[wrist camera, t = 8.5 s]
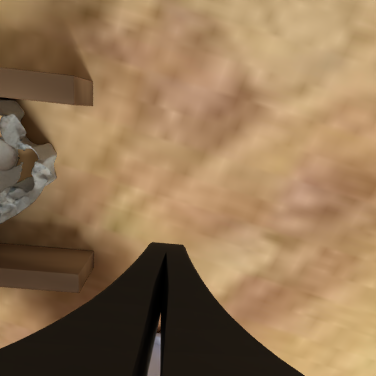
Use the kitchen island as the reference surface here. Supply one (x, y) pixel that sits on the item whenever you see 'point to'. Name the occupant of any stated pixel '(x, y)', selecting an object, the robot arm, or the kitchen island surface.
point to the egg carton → (10, 173)
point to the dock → (34, 255)
